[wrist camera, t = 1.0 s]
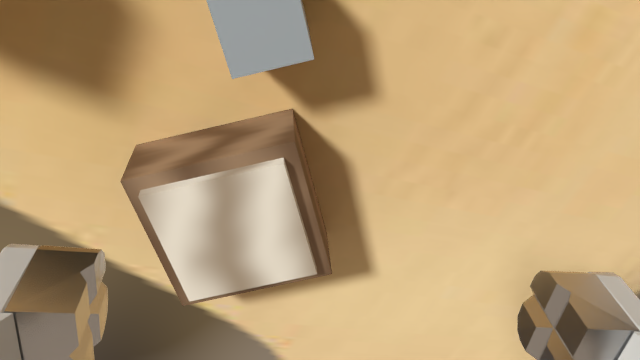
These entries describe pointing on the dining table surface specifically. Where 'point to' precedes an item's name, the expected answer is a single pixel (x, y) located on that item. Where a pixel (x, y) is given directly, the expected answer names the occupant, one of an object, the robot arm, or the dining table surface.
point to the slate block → (261, 34)
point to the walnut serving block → (230, 207)
